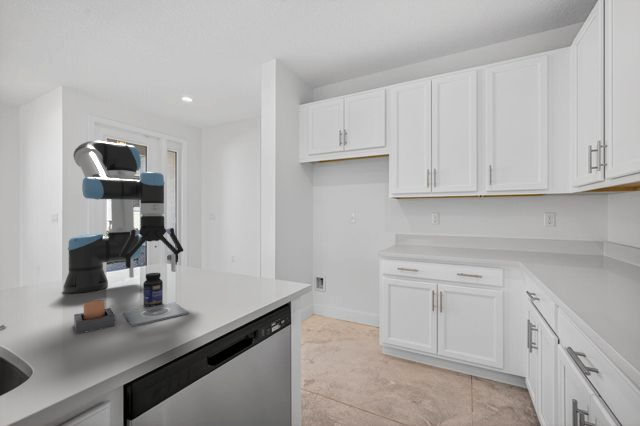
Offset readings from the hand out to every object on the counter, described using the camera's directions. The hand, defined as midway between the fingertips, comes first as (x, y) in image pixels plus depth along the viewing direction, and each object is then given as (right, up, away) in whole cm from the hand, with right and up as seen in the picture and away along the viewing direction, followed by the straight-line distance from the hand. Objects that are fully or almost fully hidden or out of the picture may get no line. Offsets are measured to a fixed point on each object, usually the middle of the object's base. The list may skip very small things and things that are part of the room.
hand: (153, 274), depth 108 cm
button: (-7, -9, -19) cm, 22 cm away
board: (+6, -11, -10) cm, 16 cm away
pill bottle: (0, -11, 0) cm, 11 cm away
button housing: (-7, -11, -19) cm, 23 cm away
